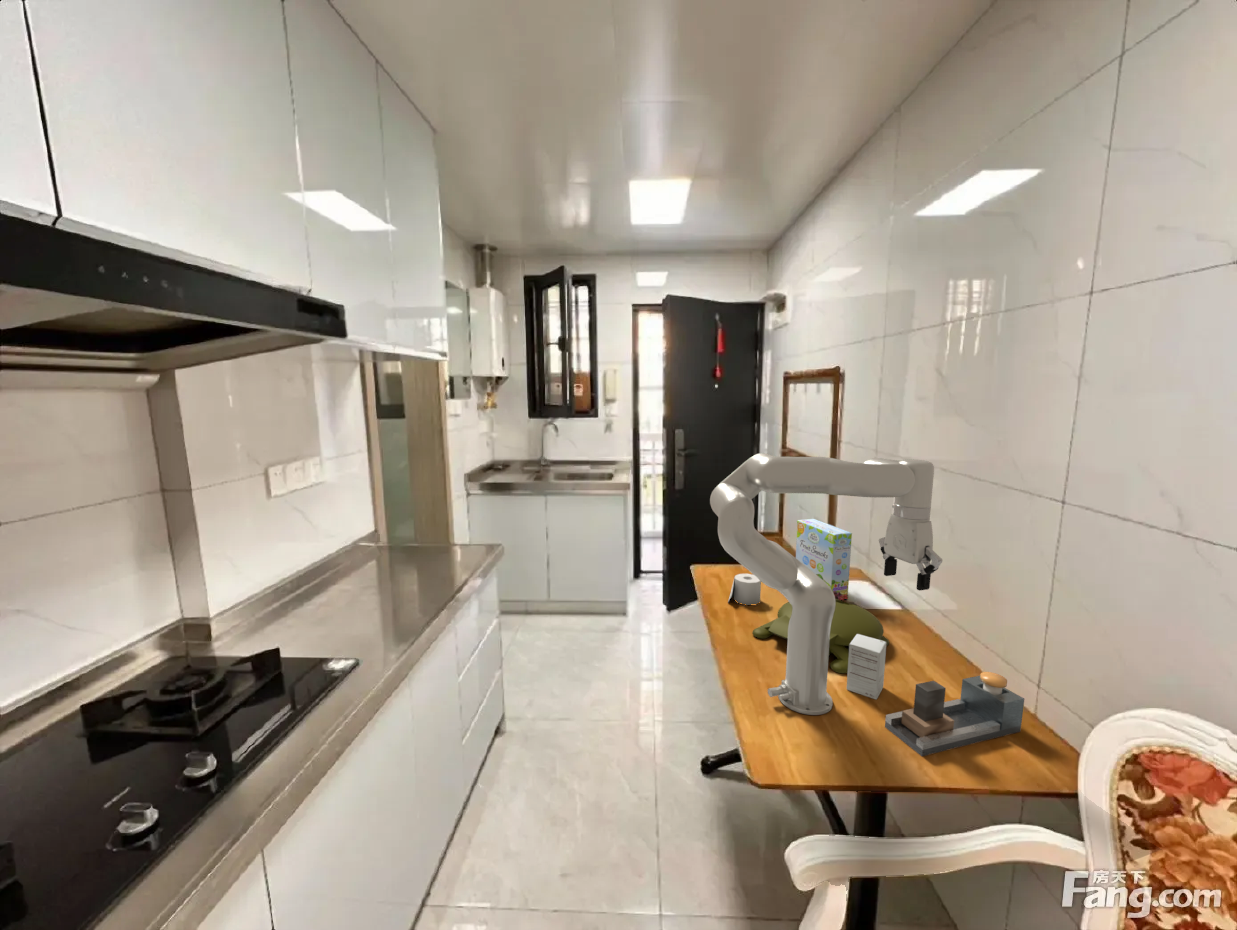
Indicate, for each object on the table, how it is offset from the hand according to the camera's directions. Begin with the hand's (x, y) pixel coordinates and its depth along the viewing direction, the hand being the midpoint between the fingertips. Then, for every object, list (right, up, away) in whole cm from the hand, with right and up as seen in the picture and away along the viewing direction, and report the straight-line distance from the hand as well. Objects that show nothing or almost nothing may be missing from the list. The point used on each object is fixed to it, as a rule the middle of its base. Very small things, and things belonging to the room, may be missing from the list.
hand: (905, 582), depth 124 cm
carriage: (-1, -30, -9) cm, 32 cm away
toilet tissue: (-23, -22, +64) cm, 72 cm away
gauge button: (+17, -29, -4) cm, 34 cm away
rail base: (+7, -32, -7) cm, 33 cm away
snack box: (+8, -20, +74) cm, 77 cm away
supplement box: (-6, -30, +9) cm, 31 cm away
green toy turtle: (-5, -26, +37) cm, 46 cm away
